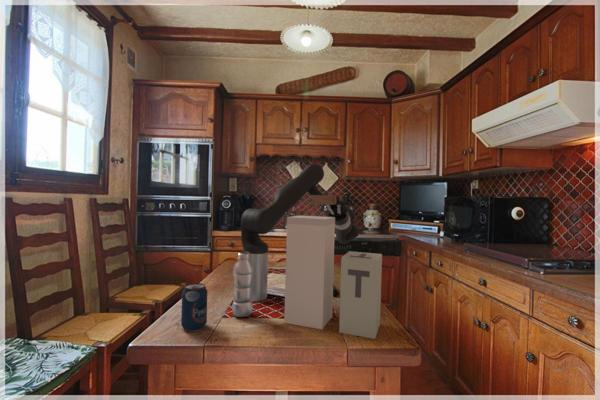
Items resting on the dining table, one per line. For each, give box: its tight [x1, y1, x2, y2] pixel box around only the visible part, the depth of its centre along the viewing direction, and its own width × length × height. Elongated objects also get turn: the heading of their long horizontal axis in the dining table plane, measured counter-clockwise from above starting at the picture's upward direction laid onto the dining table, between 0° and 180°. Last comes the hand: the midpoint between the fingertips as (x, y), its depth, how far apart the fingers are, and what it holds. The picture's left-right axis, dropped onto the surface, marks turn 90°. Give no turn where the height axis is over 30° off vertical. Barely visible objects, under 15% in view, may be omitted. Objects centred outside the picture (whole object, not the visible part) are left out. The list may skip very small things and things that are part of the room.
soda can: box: [180, 282, 208, 333], centre depth 93 cm, size 7×7×12 cm
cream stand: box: [283, 215, 336, 330], centre depth 101 cm, size 11×12×32 cm
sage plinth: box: [338, 250, 383, 340], centre depth 95 cm, size 11×10×22 cm
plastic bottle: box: [231, 251, 254, 318], centre depth 103 cm, size 6×7×20 cm
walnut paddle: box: [310, 194, 336, 205], centre depth 118 cm, size 18×7×3 cm, turn 159°
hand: (331, 197), depth 121 cm, fingers closed on walnut paddle, 3 cm apart
